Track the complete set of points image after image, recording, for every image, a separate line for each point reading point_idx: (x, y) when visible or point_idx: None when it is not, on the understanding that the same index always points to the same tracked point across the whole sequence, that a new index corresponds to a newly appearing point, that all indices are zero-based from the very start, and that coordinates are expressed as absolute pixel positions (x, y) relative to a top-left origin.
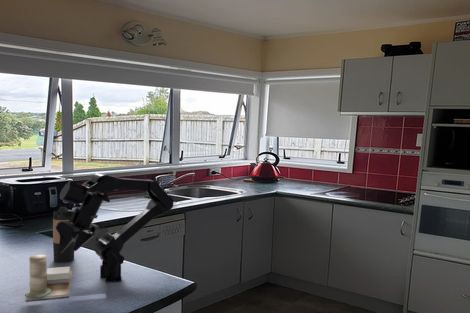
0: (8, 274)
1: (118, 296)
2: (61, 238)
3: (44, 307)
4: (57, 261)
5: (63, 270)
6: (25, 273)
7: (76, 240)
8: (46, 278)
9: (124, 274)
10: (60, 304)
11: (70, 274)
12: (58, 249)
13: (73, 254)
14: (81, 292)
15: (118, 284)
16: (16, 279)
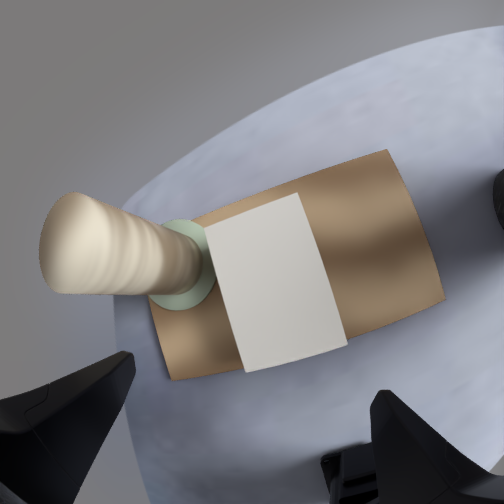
0: (368, 68)
1: (209, 500)
2: (17, 411)
3: (119, 319)
4: (501, 186)
5: (277, 332)
6: (394, 109)
7: (418, 449)
8: (147, 294)
9: None
10: (137, 361)
11: (387, 315)
12: (106, 359)
13: None
14: (227, 409)
15: (305, 498)
16: (333, 106)
